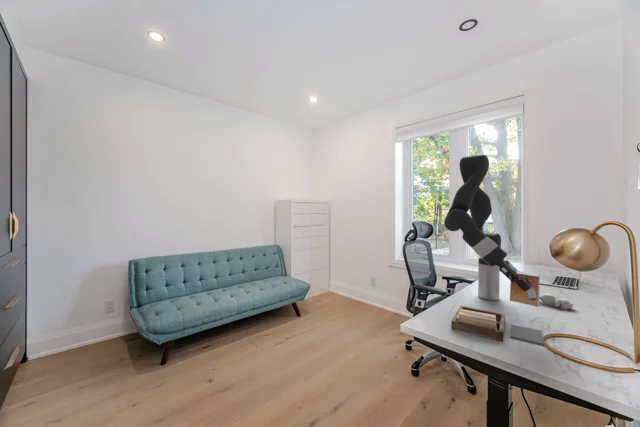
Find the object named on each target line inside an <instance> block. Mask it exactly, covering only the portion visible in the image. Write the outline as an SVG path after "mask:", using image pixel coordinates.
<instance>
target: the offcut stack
mask: <svg viewBox="0 0 640 427" xmlns="http://www.w3.org/2000/svg"><path fill="white" fill-rule="evenodd" d="M457 321H459V322H464V323H468V324H472V325H477V326H481V327H486V328H490V329H494V330H497V327H496V322H497V321H496V315H492V314H486V313H480V312H475V311H469V310H463V309H460V312H459V313H458V317H457Z"/></svg>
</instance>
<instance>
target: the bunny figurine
mask: <svg viewBox="0 0 640 427" xmlns="http://www.w3.org/2000/svg"><path fill="white" fill-rule="evenodd" d="M539 300H540V301H541V303H542V304H543V306H547V307H555V308H559V309H561V310H569V309H570V310H572V309H573V308H574V303H572V302H571V301H570V300H569V299H568V298H562V297H559V296H557V295H555V294H553V293H550V292H549V293H548V292H545V293H542V294H541V293H539Z"/></svg>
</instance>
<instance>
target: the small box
mask: <svg viewBox="0 0 640 427" xmlns="http://www.w3.org/2000/svg"><path fill="white" fill-rule="evenodd" d="M516 272H517V275H518V276H519V277H520V278H521V279H522V280H523V281H524V282H525V283H526V284H527V285H528V286H529V287H530V289H529V290H527V291H523V290H522V289H521V288H520V287H519V286H518V285H517V284H516V283H513V282H511V281H510V284H509V286H510V287H509V288H510V289H509V301H510V302H515V303H520V304H525V305H528V306H533V307H538V306H539V304H540V299H539V294H540V284H541V274H540V273H536V272H529V271H528V272H527V271H519V270H518V271H516ZM514 277H515V276H513V277H512V278H514Z"/></svg>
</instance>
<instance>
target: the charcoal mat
mask: <svg viewBox="0 0 640 427" xmlns="http://www.w3.org/2000/svg"><path fill="white" fill-rule="evenodd" d="M510 338H511V339H515V340H517V341H518V340H519V341H523V342H526V343H532V344H536V345H540V346H545V342H544V337H543V332H542V330H540V329H537V328H531V327H526V326H521V325H516V324H512V323H511V324H510Z"/></svg>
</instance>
